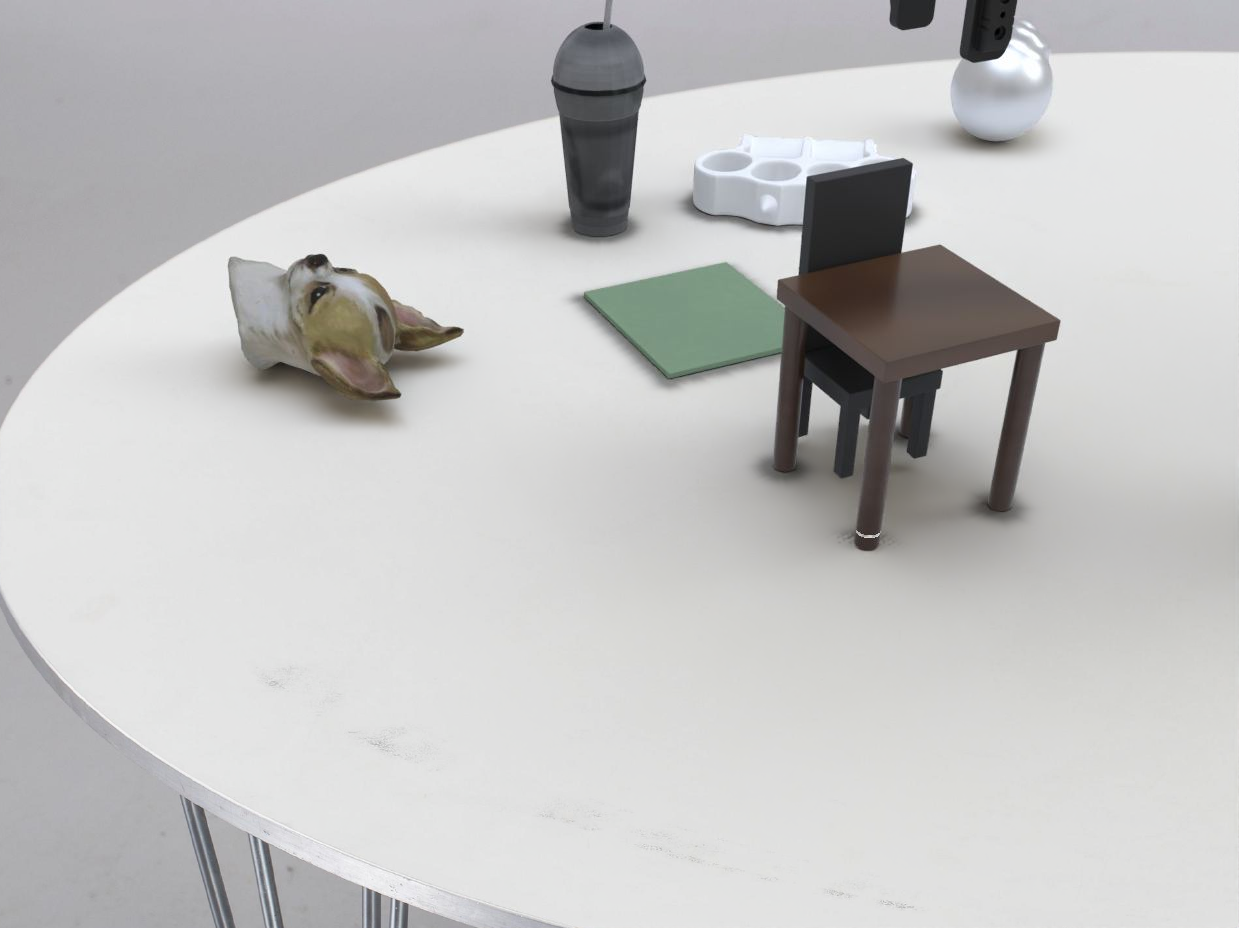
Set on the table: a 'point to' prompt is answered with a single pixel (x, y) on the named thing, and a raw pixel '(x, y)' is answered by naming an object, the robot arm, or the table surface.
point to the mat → (694, 318)
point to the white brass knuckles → (774, 175)
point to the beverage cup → (599, 122)
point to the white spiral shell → (1005, 87)
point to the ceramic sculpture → (327, 323)
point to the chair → (844, 234)
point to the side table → (910, 353)
